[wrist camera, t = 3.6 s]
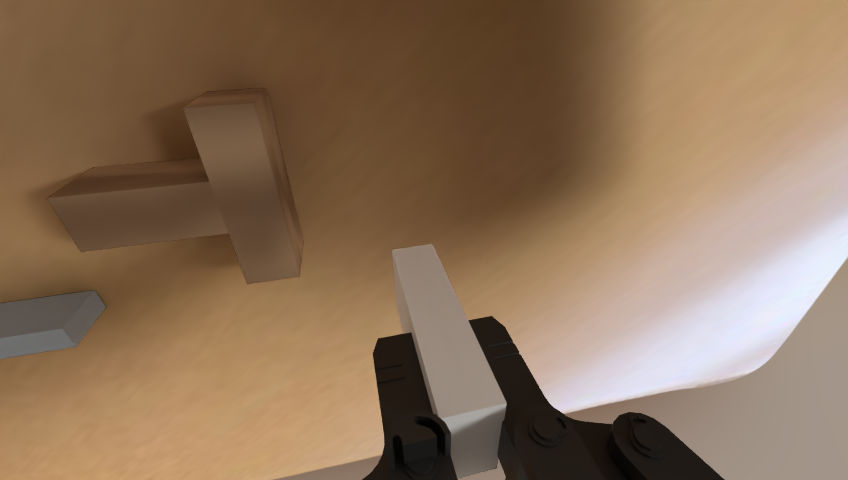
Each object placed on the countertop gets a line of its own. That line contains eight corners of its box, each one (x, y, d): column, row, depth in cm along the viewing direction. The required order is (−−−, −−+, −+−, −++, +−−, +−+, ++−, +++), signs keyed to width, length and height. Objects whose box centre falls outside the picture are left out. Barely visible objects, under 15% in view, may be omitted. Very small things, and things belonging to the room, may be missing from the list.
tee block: (303, 241, 25) (299, 276, 22) (144, 263, 24) (114, 303, 20) (266, 87, 20) (253, 103, 17) (57, 101, 18) (-4, 120, 15)
